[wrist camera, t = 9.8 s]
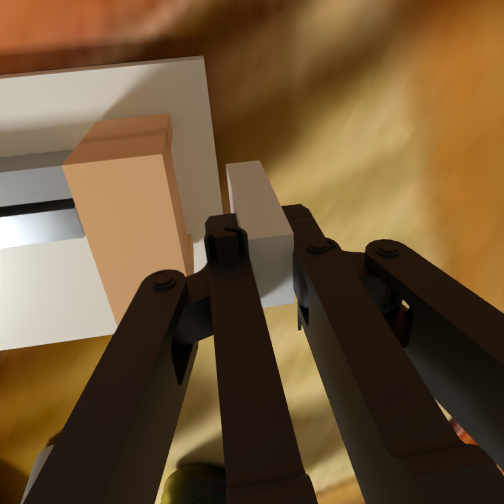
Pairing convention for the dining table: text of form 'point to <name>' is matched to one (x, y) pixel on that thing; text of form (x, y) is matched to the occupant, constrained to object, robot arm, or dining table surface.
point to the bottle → (196, 486)
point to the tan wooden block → (129, 204)
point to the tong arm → (39, 223)
